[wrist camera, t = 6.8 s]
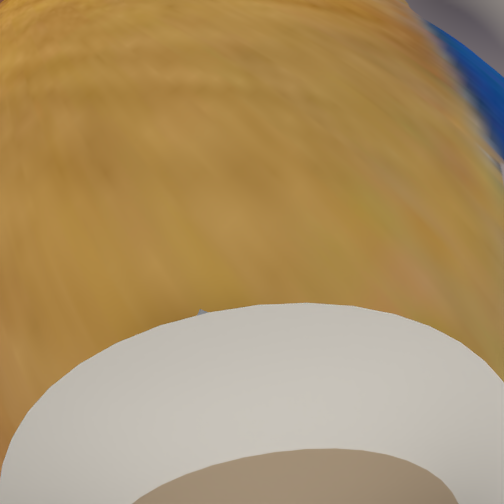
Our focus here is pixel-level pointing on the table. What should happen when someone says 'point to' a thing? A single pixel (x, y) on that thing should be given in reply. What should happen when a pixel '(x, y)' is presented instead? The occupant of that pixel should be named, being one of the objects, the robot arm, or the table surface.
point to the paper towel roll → (268, 416)
